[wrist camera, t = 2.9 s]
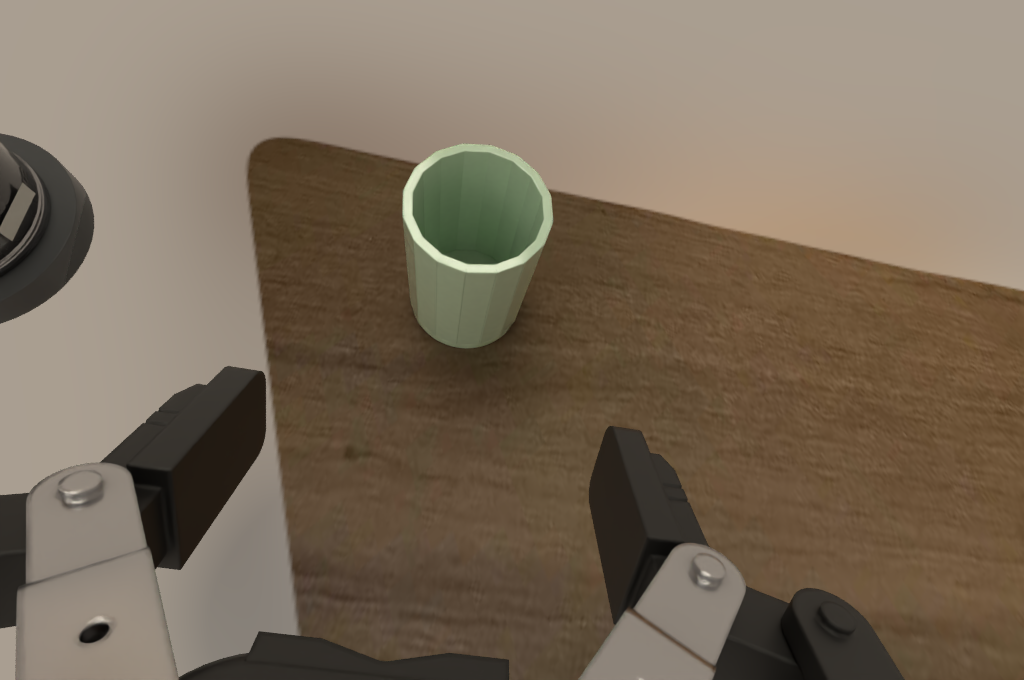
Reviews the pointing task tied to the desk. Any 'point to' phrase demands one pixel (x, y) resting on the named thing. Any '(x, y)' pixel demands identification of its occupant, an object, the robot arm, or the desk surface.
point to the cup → (472, 241)
